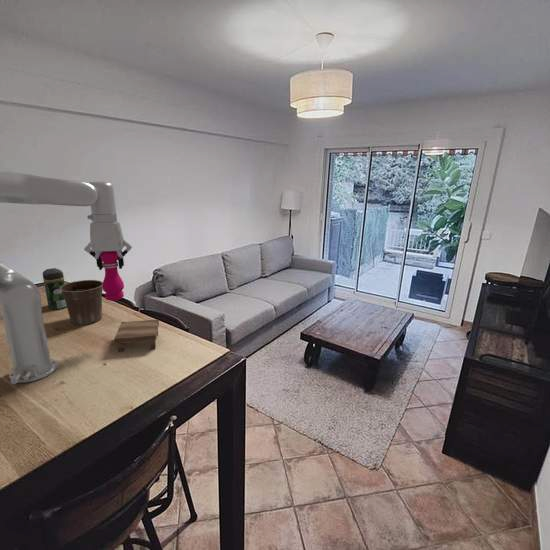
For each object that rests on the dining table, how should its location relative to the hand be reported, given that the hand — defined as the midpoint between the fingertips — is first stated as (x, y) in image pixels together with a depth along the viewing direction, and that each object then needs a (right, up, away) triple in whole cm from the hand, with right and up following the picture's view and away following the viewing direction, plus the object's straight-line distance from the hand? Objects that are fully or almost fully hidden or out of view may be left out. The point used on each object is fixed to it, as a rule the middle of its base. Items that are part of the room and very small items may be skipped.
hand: (111, 267), depth 116 cm
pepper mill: (0, -11, +4) cm, 12 cm away
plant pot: (-24, -23, +26) cm, 42 cm away
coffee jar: (-45, -18, +38) cm, 62 cm away
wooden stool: (+7, -29, +8) cm, 31 cm away
